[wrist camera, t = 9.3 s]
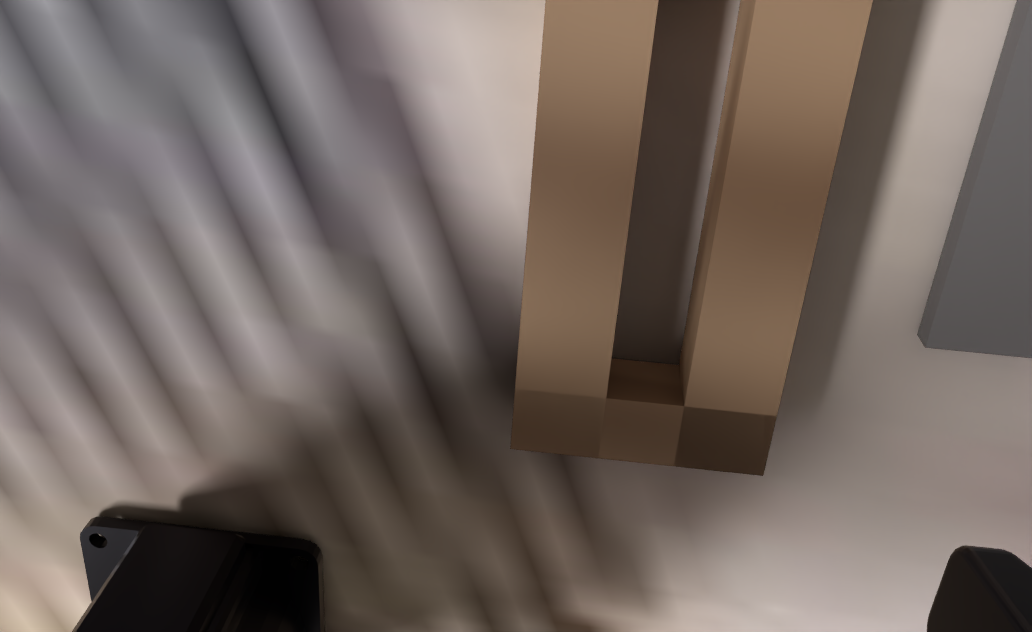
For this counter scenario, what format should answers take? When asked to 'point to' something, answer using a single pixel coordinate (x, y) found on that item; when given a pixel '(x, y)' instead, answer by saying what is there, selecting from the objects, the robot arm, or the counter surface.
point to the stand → (723, 243)
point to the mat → (992, 221)
